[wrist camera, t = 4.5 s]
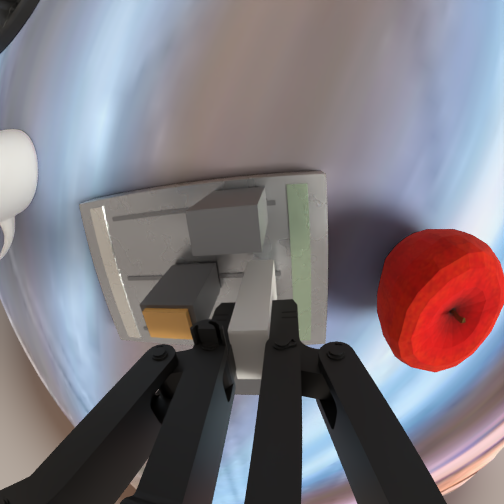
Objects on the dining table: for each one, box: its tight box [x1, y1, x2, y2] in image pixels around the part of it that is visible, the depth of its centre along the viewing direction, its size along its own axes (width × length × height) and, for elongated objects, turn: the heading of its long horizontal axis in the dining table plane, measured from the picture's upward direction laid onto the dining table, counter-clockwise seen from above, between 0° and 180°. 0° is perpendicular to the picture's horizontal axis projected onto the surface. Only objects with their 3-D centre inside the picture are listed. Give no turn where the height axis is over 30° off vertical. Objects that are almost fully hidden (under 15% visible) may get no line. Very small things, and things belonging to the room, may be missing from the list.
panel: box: [79, 171, 328, 345], centre depth 19 cm, size 12×17×2 cm
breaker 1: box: [185, 186, 268, 256], centre depth 14 cm, size 2×3×5 cm, turn 95°
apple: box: [377, 229, 504, 372], centre depth 15 cm, size 9×9×8 cm
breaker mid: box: [139, 263, 220, 340], centre depth 16 cm, size 2×3×5 cm, turn 95°
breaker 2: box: [234, 373, 261, 395], centre depth 17 cm, size 2×3×5 cm, turn 96°
